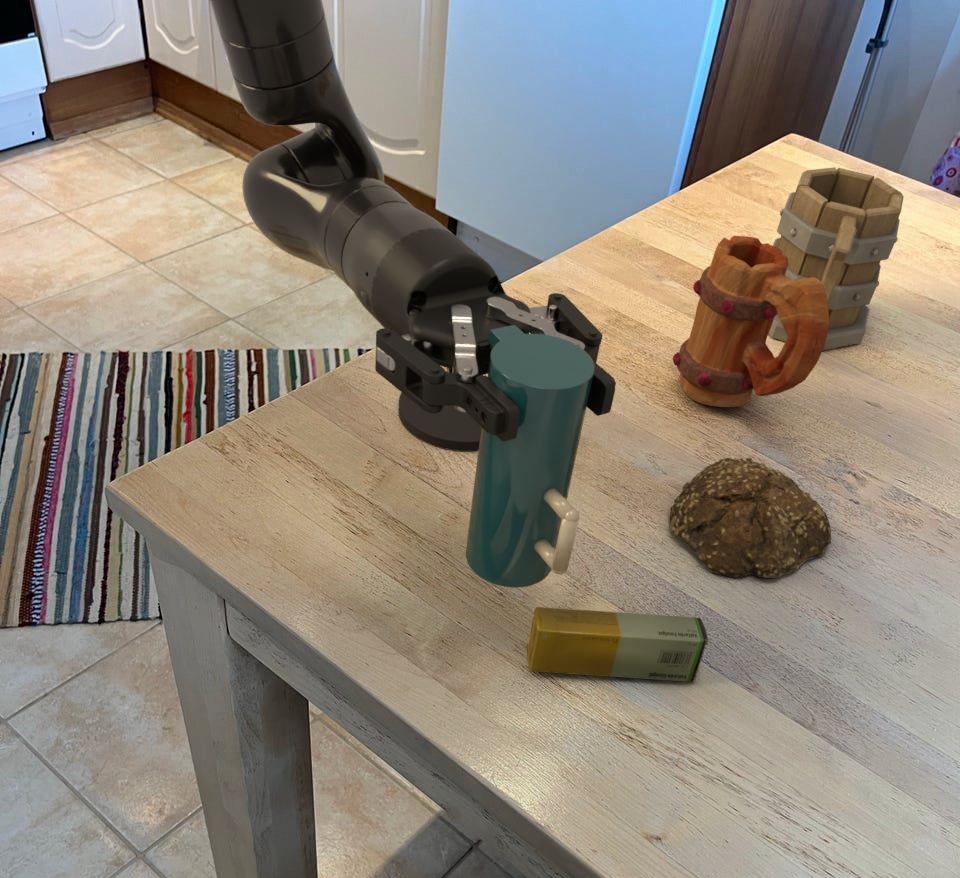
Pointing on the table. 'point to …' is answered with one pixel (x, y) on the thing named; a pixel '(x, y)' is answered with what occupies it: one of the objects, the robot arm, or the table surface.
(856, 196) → the tankard
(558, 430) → the jug
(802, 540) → the bread roll
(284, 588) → the table surface
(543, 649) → the medication box
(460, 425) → the disc
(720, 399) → the mug
